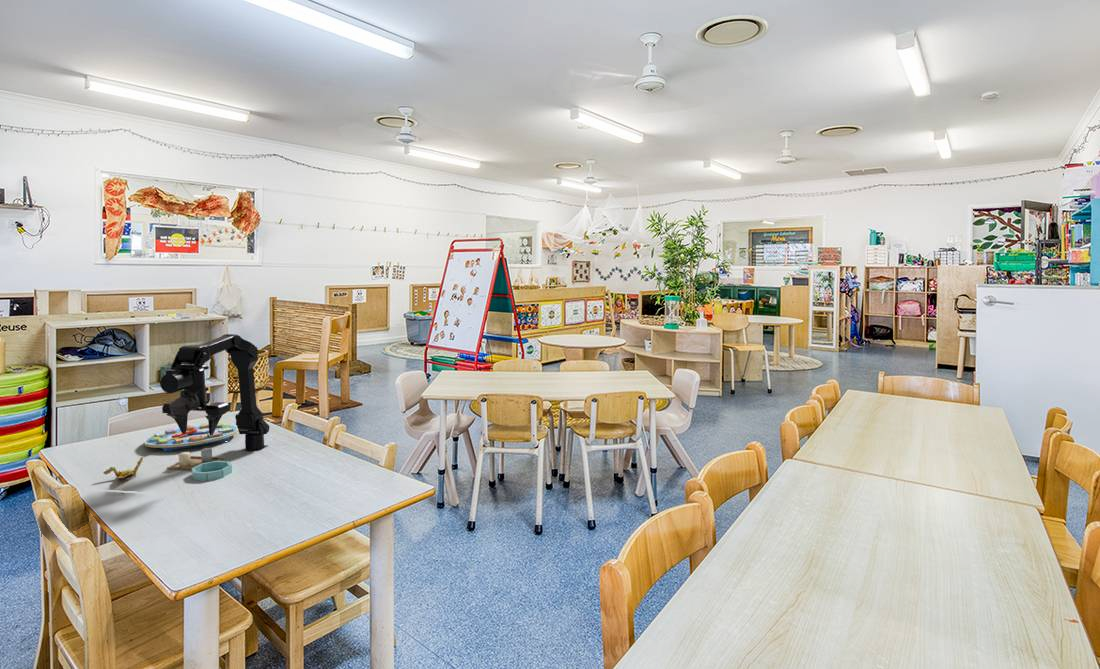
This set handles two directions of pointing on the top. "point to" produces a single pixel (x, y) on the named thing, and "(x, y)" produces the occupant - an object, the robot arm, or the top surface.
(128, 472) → the olive plastic animal figure
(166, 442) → the shape sorting clock
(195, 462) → the parts tray
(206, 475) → the bowl
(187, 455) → the sand beige cylinder
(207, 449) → the grey rounded cylinder
